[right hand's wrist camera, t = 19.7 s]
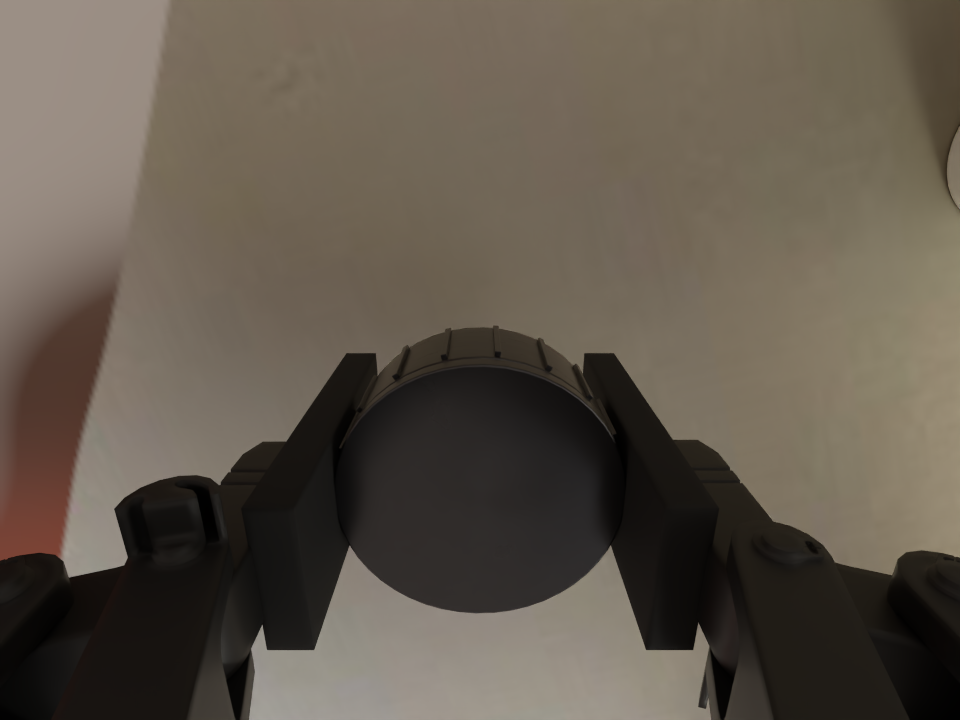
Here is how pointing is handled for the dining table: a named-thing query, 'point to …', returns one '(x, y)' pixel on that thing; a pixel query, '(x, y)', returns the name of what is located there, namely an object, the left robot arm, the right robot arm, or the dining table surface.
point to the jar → (954, 169)
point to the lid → (480, 473)
